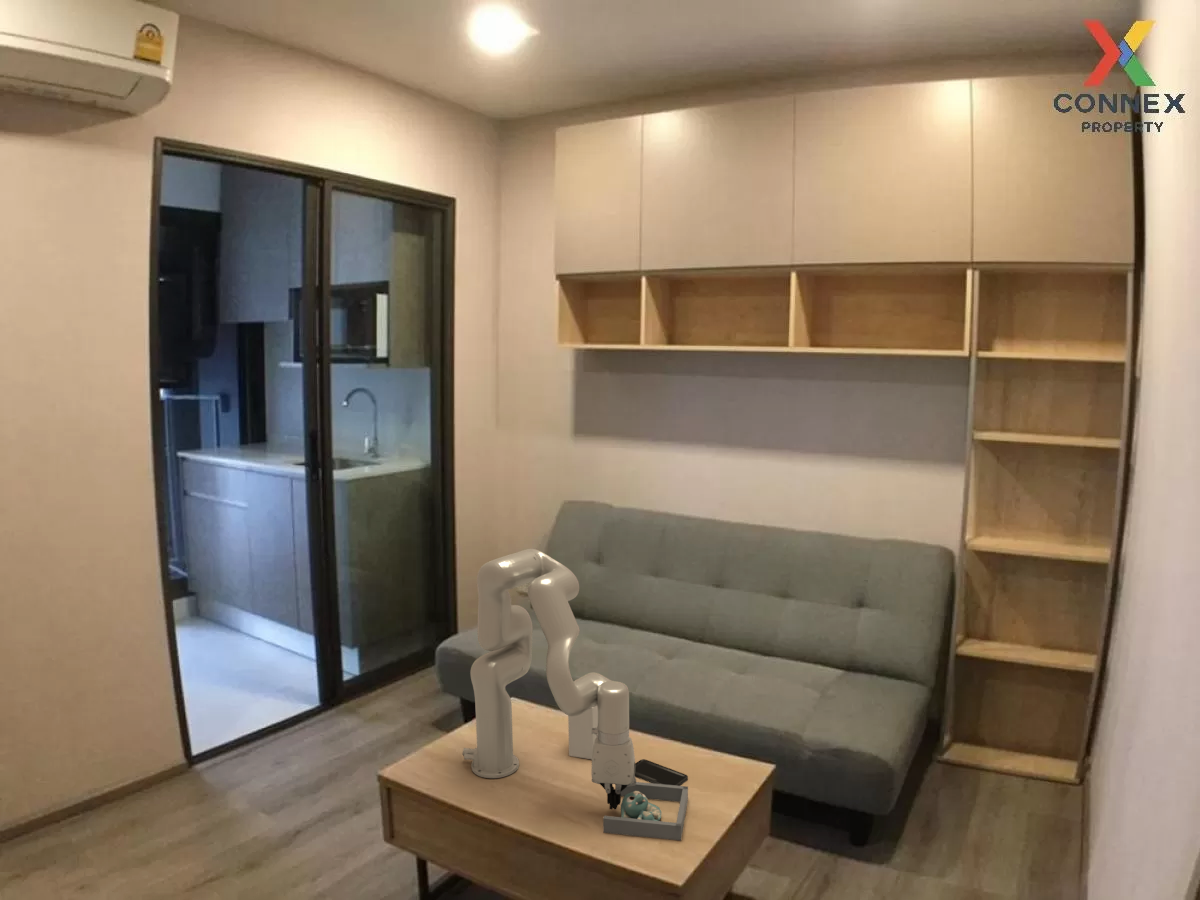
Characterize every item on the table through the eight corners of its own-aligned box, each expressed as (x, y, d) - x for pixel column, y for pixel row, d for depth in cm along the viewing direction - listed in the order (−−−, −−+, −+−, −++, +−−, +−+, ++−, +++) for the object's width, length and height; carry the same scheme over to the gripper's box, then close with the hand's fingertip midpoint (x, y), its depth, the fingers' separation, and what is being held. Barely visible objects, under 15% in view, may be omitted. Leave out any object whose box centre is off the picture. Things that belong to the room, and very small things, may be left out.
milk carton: (601, 748, 240) (601, 683, 237) (593, 760, 233) (592, 693, 231) (577, 744, 242) (576, 680, 240) (568, 756, 236) (567, 690, 233)
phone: (642, 758, 233) (689, 775, 223) (642, 762, 233) (689, 780, 224) (625, 770, 227) (672, 788, 217) (625, 774, 227) (672, 792, 218)
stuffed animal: (640, 820, 195) (610, 789, 205) (636, 846, 197) (607, 814, 207) (677, 805, 201) (646, 775, 211) (673, 831, 203) (642, 800, 213)
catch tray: (603, 832, 200) (603, 818, 200) (616, 793, 217) (616, 780, 216) (681, 840, 197) (681, 826, 196) (688, 799, 213) (688, 786, 213)
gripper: (579, 739, 203) (580, 811, 206) (642, 744, 200) (642, 818, 203) (586, 725, 211) (586, 795, 213) (646, 729, 208) (647, 801, 210)
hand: (614, 806), depth 208 cm, fingers closed
